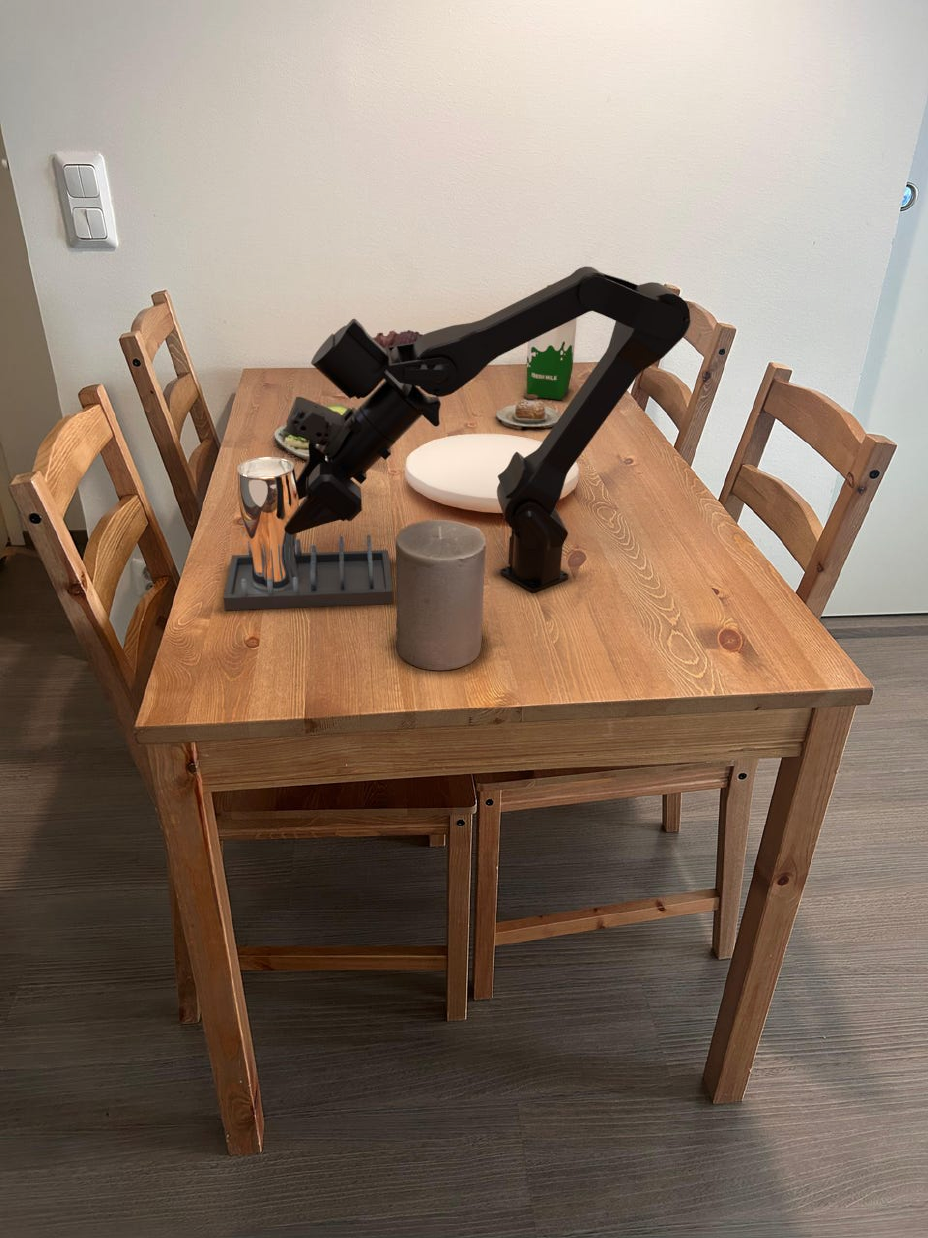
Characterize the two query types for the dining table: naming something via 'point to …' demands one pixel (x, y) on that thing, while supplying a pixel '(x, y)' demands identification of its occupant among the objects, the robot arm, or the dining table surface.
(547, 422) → the pastry
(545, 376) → the green white milk carton
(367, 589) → the rack
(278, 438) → the salad plate
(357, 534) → the dining table surface
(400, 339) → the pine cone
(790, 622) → the dining table surface
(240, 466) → the beer glass
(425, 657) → the pillar candle
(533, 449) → the plate
